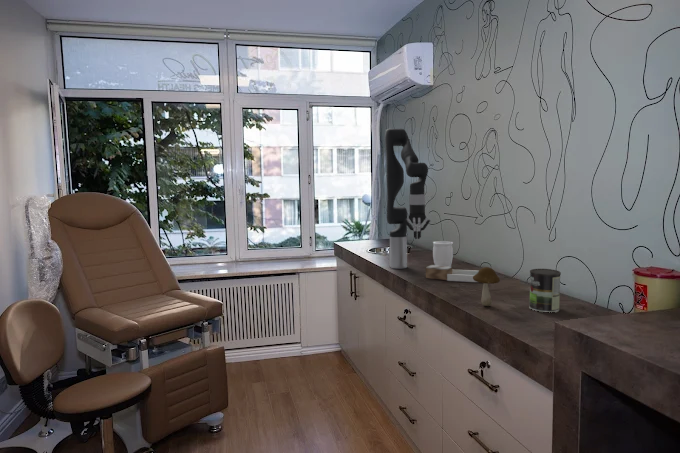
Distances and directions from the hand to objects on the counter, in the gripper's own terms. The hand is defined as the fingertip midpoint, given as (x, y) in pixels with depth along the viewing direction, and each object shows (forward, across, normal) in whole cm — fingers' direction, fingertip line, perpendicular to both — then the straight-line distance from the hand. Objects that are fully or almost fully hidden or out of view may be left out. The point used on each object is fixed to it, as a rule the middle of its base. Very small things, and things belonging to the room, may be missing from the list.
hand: (417, 238), depth 225 cm
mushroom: (+19, +34, -46) cm, 60 cm away
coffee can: (+19, +54, -44) cm, 73 cm away
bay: (+19, +23, 0) cm, 30 cm away
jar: (+19, +10, +18) cm, 29 cm away
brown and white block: (+19, +10, 0) cm, 22 cm away
